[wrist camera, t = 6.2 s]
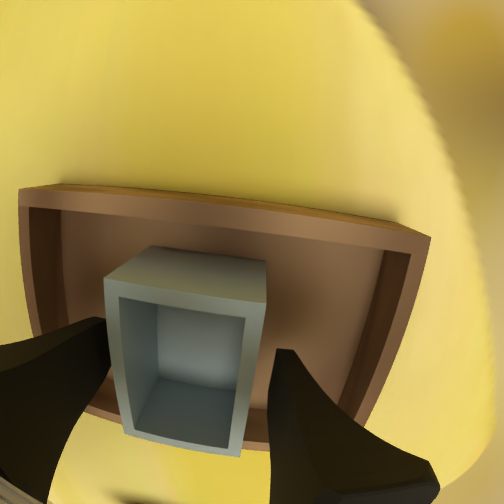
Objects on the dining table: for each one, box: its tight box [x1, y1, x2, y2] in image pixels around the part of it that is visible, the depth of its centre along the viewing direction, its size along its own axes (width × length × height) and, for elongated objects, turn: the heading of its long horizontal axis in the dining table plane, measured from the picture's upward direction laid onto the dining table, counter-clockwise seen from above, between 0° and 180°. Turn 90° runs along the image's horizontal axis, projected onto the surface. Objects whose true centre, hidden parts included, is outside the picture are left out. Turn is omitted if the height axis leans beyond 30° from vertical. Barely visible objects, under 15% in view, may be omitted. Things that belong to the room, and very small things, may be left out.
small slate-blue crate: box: [104, 245, 266, 457], centre depth 11 cm, size 7×5×4 cm
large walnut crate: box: [18, 184, 431, 452], centre depth 12 cm, size 16×11×3 cm
